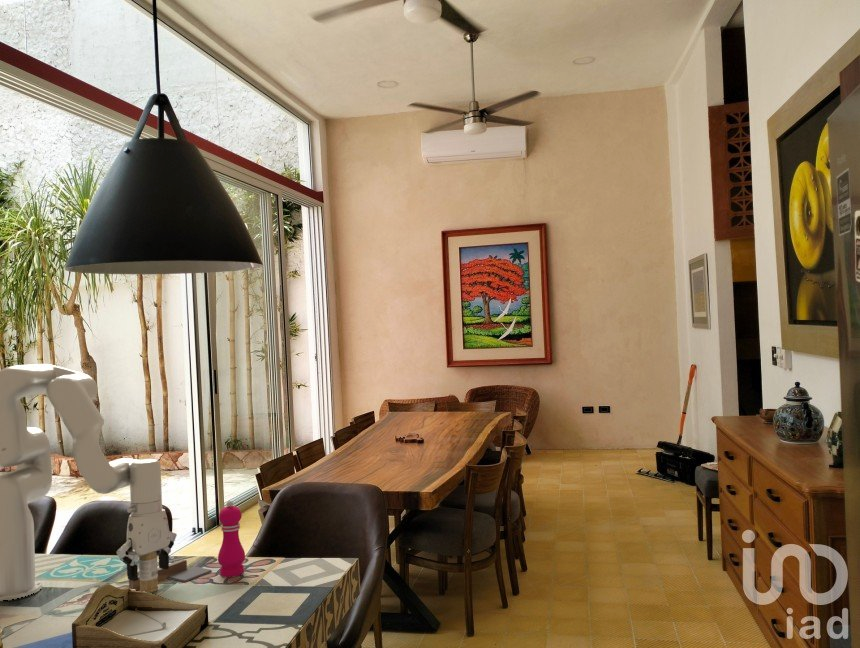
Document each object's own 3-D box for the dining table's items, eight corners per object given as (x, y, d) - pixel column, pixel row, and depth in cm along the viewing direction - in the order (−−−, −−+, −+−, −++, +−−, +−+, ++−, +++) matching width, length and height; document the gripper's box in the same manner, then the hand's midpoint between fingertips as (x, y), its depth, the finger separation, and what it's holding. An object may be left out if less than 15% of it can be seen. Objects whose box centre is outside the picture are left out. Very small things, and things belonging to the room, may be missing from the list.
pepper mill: (229, 579, 184) (226, 505, 184) (212, 575, 188) (210, 502, 189) (251, 572, 190) (248, 499, 190) (234, 567, 194) (232, 496, 194)
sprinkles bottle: (151, 586, 181) (150, 535, 181) (162, 589, 179) (160, 537, 179) (135, 592, 177) (134, 539, 178) (145, 595, 175) (144, 542, 175)
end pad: (167, 578, 187) (167, 576, 187) (194, 568, 195) (194, 566, 195) (184, 582, 183) (184, 580, 183) (211, 571, 191) (211, 569, 191)
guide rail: (129, 590, 179) (128, 578, 179) (183, 569, 194) (182, 559, 194) (133, 591, 178) (132, 579, 178) (186, 570, 193) (186, 560, 193)
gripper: (125, 517, 169) (127, 587, 169) (183, 501, 184) (185, 565, 184) (107, 514, 173) (109, 582, 173) (165, 498, 188) (167, 562, 187)
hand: (148, 574), depth 178 cm, fingers open, 8 cm apart
